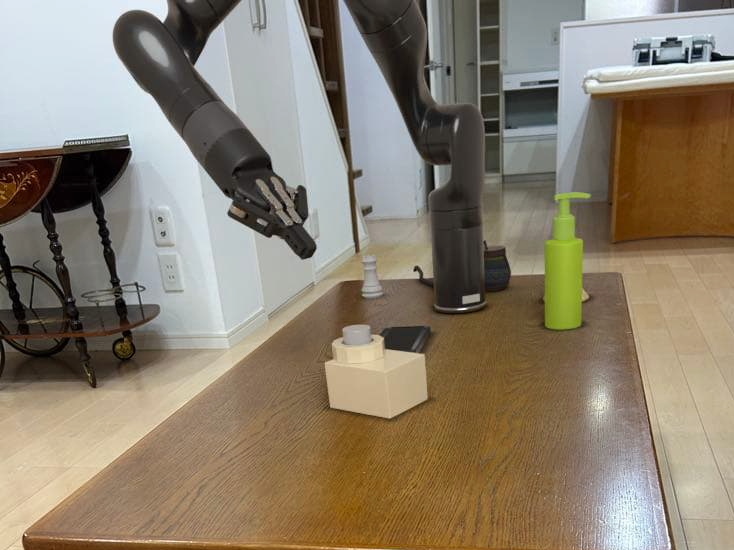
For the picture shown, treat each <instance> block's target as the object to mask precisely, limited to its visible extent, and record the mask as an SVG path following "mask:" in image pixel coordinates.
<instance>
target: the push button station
mask: <svg viewBox="0 0 734 550" xmlns="http://www.w3.org/2000/svg"><path fill="white" fill-rule="evenodd" d="M379 335H380V334H372V333H371V336H372V342H370V343H367V344H362V345H351V346H350V345H344V341H343V336H342V337H339V338H336V339H334V340H333V341H332V343H331V350H332V359H330V360H328V361H326V362H324V368H325V369H324V370H325V378H326V385H327V393H328V401H329V407H330V409H336V410H342V411H347V412H351V413H356V414H357V413H358V414H361V415H369V416H373V417H379V418H383V419H393V418H394V417H396V416H398V415H400V414H402V413H405V412H406V411H408V410H410V409H412V408H414V407H416V406H418V405H420V404H421V403H424V402H426V401H427V400H428V399H429V396H428V383H427V382H428V381H427V367H426V355H425V353H420V352H419V353H411V352H404V351H396V350H388V349H385V344H384V338H383V337H381V336H379Z"/></svg>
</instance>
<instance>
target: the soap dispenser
mask: <svg viewBox="0 0 734 550" xmlns="http://www.w3.org/2000/svg"><path fill="white" fill-rule="evenodd" d="M591 196H592V194H591V193H588V192H581V191H569V192H563V193H562V192H561V193H556V194H554V201H557V202H558V207H557V208H558V209H557V210H558V211H557V213H558V214H556V215H555V216H553V218H552V238H551V239H548V240H546V241H544V296H545V302H544V328H547V329H550V330H563V331H564V330H572V329H576V328H579V327H581V326H582V321H583V319H582V318H583V316H582V315H583V314H582V312H583V302H582V288H583V267H584V265H583V263H584V261H583V259H584V240H583V239H582V238H578V237H576V216H575V215H573V214H572V213H571V211H570V207H571V199H576V198H577V199H578V198H579V199H587V200H588V199H590V198H591ZM570 213H571V214H570Z"/></svg>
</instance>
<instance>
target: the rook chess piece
mask: <svg viewBox="0 0 734 550" xmlns="http://www.w3.org/2000/svg"><path fill="white" fill-rule="evenodd" d="M360 262H361V263H362V264H363V268H362V270H363V272H364V273H363V275H364V278H363V279H364V280H363V284H362V287H361V289H360V290H361V292H362V294H361V296H362V298H363V299H365V300H366V299H368V300H372V299H373V300H374V299H378V298H381V297H383V296H384V292H383V286H382V285H381V282H380V281H379V277H378V274H377V269H378V267H377V265H376V264H377V262H378V259H377V257H376V254H373V253H371V254H369V253H368V254H363V255H362V259H361V260H360Z"/></svg>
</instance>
